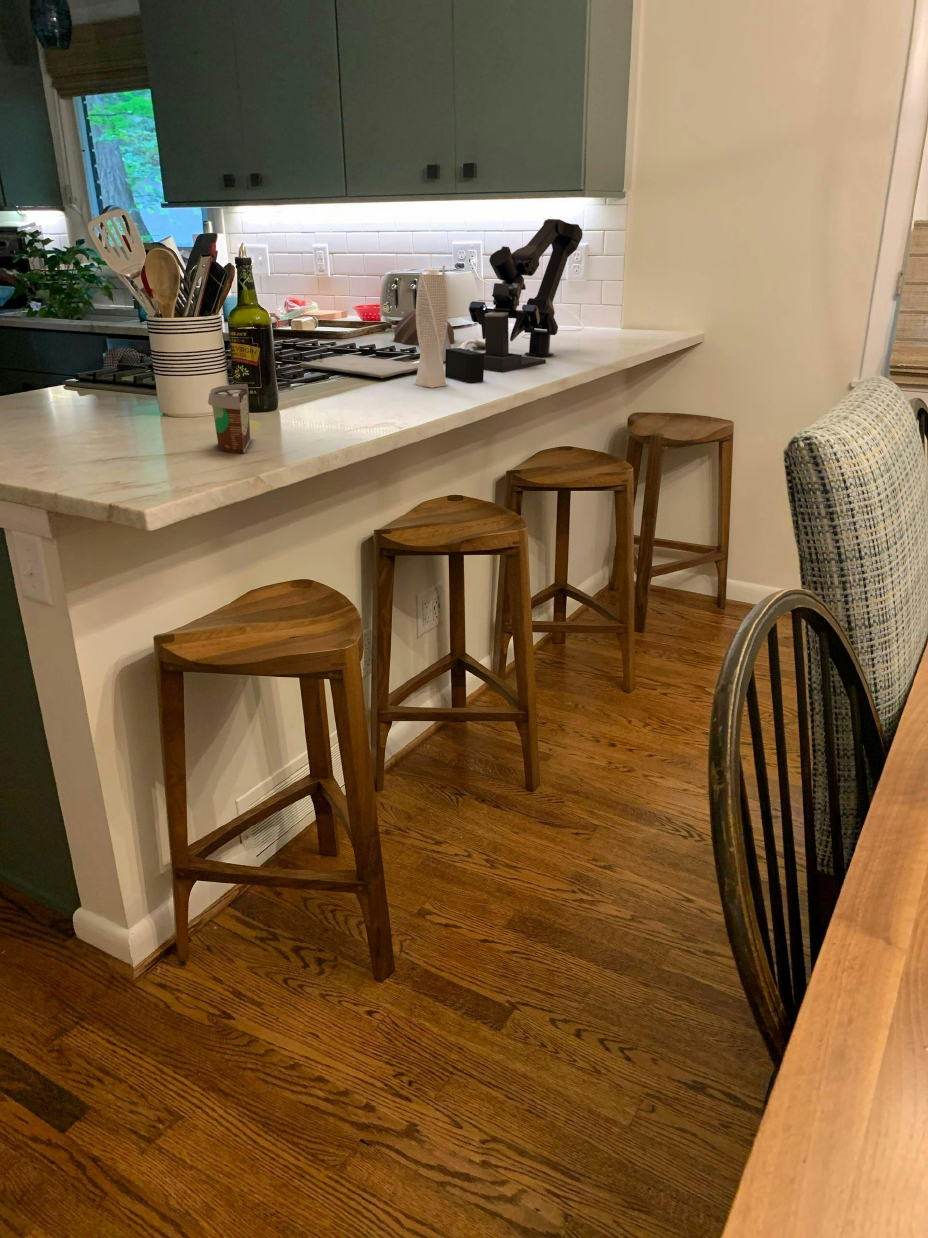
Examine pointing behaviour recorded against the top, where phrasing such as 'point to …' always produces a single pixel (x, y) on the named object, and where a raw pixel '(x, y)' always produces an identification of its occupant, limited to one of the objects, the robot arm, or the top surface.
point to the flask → (445, 345)
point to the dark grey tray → (510, 362)
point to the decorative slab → (362, 365)
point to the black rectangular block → (464, 365)
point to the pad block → (496, 334)
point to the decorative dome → (413, 330)
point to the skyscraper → (431, 327)
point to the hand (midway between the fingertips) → (497, 339)
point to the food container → (231, 416)
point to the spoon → (477, 342)
